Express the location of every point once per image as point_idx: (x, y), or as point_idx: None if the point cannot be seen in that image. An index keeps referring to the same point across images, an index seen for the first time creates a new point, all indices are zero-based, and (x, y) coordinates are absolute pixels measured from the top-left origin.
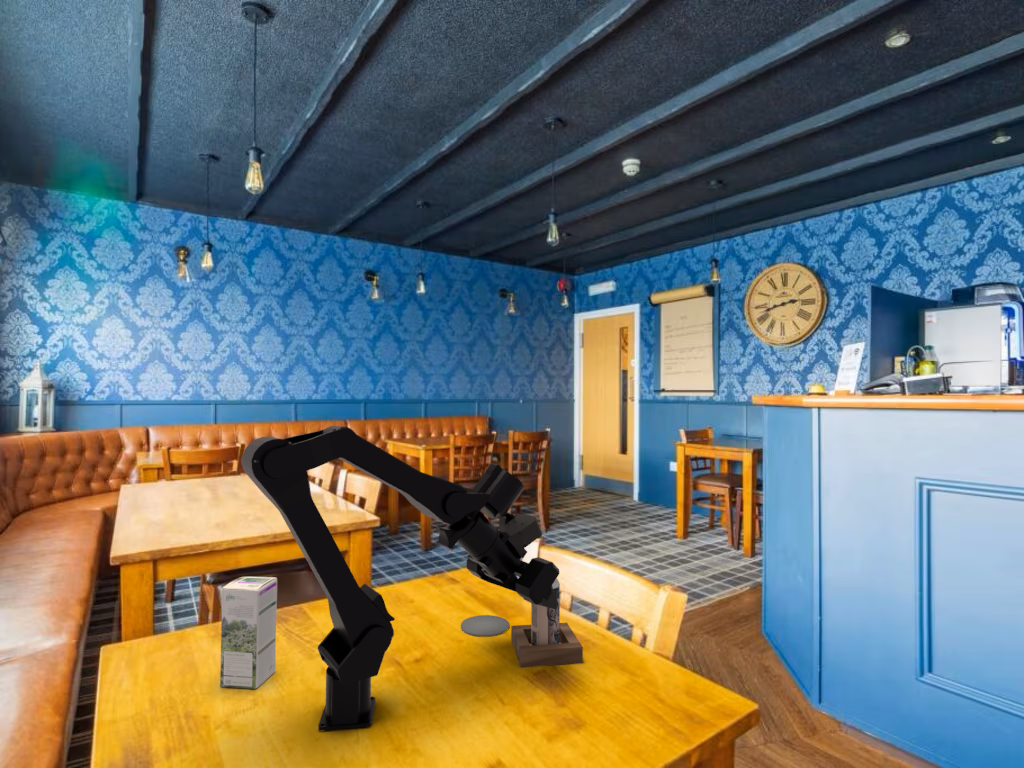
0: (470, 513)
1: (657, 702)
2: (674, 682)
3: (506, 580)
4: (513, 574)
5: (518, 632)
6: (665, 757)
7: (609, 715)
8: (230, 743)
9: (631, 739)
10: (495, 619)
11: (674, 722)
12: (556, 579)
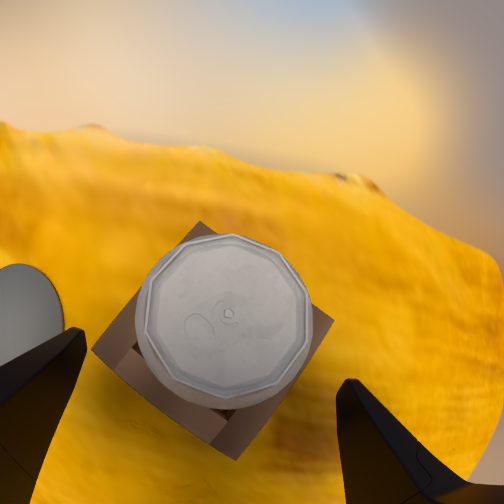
0: None
1: (462, 334)
2: (444, 262)
3: (33, 432)
4: (24, 390)
5: (138, 376)
6: (499, 416)
7: (443, 421)
8: None
9: (475, 429)
10: (14, 283)
11: (487, 356)
12: (297, 278)
